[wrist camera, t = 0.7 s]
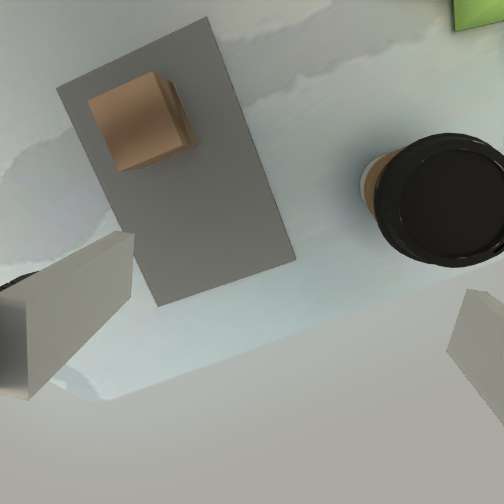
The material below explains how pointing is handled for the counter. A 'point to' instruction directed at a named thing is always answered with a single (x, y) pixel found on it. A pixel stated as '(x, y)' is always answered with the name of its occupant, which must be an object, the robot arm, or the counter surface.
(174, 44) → the rubber mat
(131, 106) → the walnut cube
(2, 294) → the robot arm
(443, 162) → the coffee cup
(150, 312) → the counter surface
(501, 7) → the teapot
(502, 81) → the counter surface
